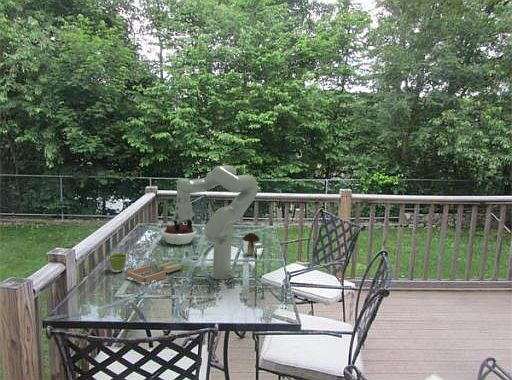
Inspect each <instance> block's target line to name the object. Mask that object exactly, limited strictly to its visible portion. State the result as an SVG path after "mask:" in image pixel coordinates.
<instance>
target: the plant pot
mask: <svg viewBox="0 0 512 380" xmlns="http://www.w3.org/2000/svg"><path fill="white" fill-rule="evenodd" d="M126 258H128V255H126V254H124V253H115V254H111V255H109V256H108V259H109V261H110V267H111V268H110V269H111V270H112V269H114V270H121V269H123V268H124V269H125V264H126Z"/></svg>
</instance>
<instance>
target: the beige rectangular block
mask: <svg viewBox="0 0 512 380" xmlns="http://www.w3.org/2000/svg"><path fill="white" fill-rule="evenodd" d="M157 267H158V268H157V269H158V270H159V272H160V271H166V274H167V275H171V274H170V273H172V272H174V271H175V272H176V271H177V272H180V271H181V269H182V267H184V266H183V264H182V263H178V262H175V261H168V262H166V263H162V264H159V265H158V266H157Z"/></svg>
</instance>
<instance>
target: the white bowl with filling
mask: <svg viewBox="0 0 512 380" xmlns="http://www.w3.org/2000/svg"><path fill="white" fill-rule="evenodd" d="M197 232H198V231H197V229H196V228H195V227H192V228H187V224H183V222H182V221H180V222H179V231H175V224H174V223H173V225H166V227H163V228H161V229H160V232H159V233H160V234H161V237H163V238H164V241H165V242H166V243H167V244H169V243H170V245H174V244H176V245H175V246H180V245H181V244H182V245H187V244H189V243H191V242H192V240H193V238H194V237H195V236H196V234H197Z"/></svg>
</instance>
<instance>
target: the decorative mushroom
mask: <svg viewBox="0 0 512 380" xmlns="http://www.w3.org/2000/svg"><path fill="white" fill-rule="evenodd" d="M242 240H243V241H244V242H248V244H247V249H246V251H247V255H248V256H250V255H252V256H254V254H255V244H254V242H255V243H256V242H260V237H259V235H257V234H255V233H253V232H249V233H247V234H245V235H244V236H243V238H242Z"/></svg>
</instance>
